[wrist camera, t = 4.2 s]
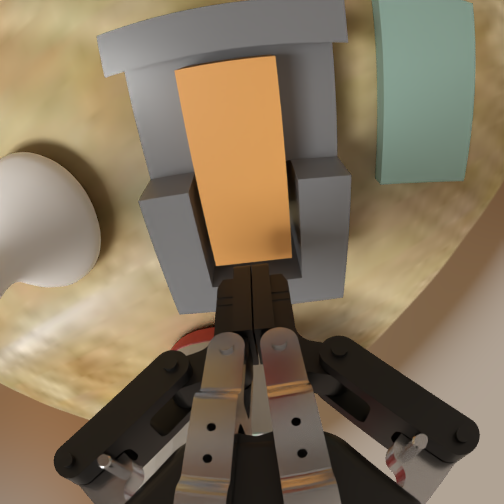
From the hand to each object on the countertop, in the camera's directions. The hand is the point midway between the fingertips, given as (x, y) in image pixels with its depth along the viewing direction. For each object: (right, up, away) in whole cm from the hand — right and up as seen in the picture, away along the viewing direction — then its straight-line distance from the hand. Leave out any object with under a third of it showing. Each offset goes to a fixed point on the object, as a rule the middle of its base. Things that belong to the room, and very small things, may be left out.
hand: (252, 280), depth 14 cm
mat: (+11, +12, +2) cm, 16 cm away
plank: (-1, +6, +2) cm, 6 cm away
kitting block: (-1, +8, +4) cm, 9 cm away
